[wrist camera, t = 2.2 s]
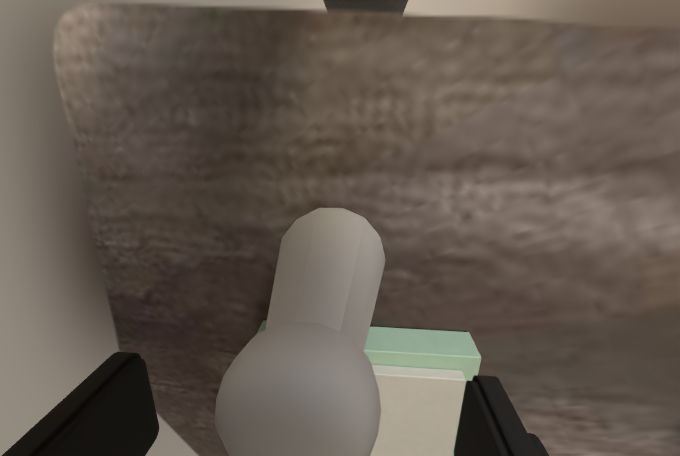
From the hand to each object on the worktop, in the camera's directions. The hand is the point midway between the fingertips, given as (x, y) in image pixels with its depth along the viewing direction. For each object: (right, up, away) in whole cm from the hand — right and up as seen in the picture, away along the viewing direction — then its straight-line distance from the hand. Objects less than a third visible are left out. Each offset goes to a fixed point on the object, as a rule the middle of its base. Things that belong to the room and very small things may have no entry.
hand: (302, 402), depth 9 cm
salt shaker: (+1, +4, +11) cm, 11 cm away
